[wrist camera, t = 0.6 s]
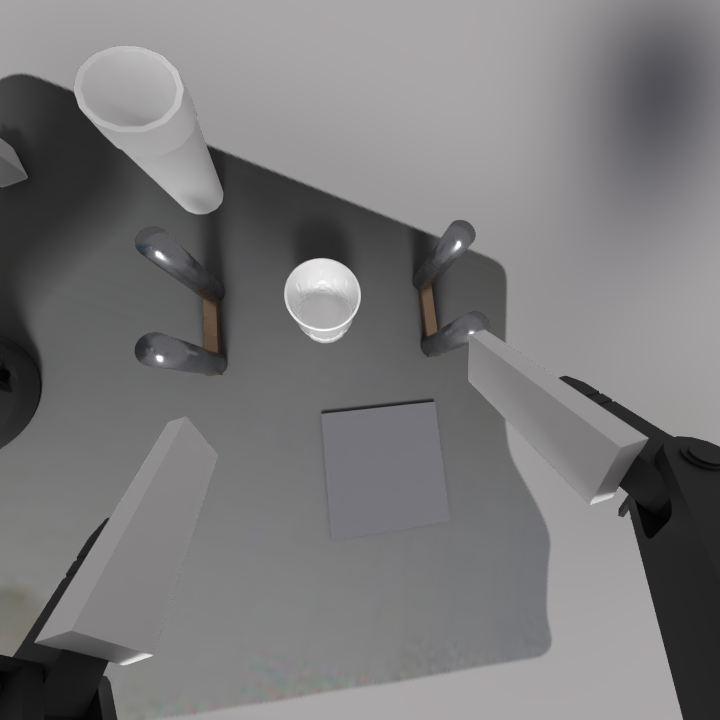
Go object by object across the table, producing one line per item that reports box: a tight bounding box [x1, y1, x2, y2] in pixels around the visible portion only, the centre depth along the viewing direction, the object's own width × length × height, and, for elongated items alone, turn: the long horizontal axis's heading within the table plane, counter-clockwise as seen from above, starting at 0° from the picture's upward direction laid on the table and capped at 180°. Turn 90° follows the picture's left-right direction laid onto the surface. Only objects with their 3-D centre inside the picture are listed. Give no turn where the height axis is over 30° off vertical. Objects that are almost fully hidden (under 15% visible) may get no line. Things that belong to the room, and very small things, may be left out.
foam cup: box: [73, 46, 224, 214], centre depth 30 cm, size 10×9×13 cm
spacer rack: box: [135, 220, 490, 376], centre depth 30 cm, size 33×13×12 cm, turn 96°
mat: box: [321, 402, 450, 541], centre depth 35 cm, size 16×16×1 cm
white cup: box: [284, 258, 361, 343], centre depth 32 cm, size 8×8×10 cm
